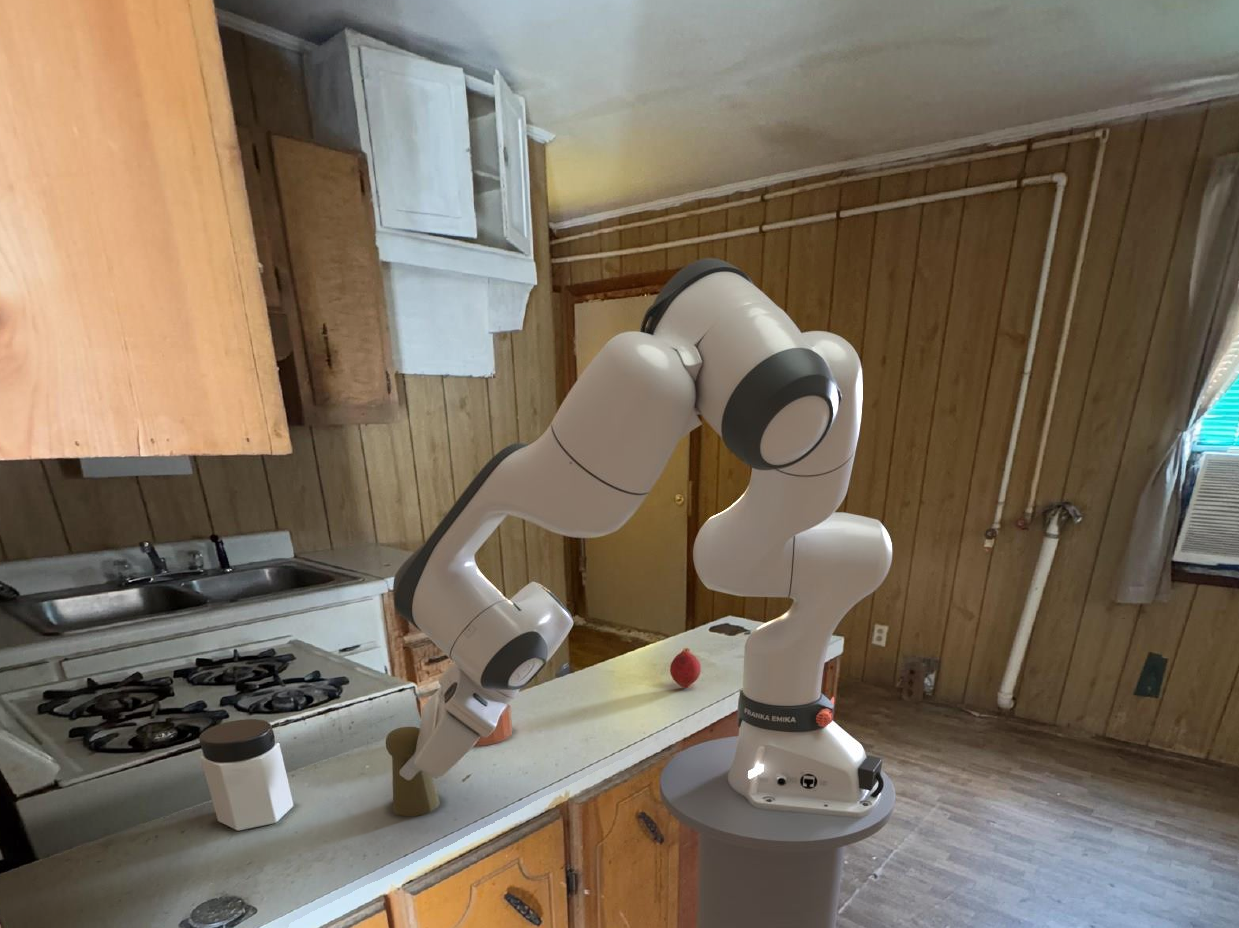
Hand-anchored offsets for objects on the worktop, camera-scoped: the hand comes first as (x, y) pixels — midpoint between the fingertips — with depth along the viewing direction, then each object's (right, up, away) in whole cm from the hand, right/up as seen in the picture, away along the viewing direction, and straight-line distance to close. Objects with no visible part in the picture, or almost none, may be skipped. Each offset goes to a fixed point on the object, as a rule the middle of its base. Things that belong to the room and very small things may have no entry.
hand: (405, 766), depth 97 cm
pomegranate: (+39, +14, +46) cm, 61 cm away
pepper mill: (+1, -5, +3) cm, 6 cm away
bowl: (+4, +5, +25) cm, 26 cm away
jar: (-20, -6, +1) cm, 21 cm away
